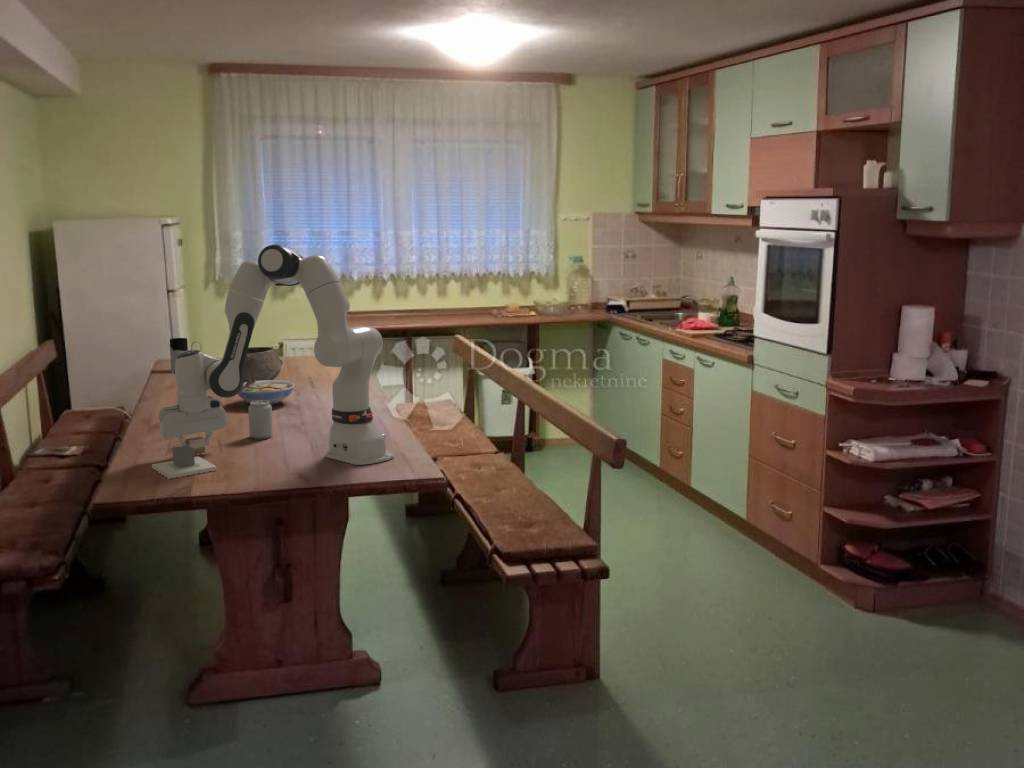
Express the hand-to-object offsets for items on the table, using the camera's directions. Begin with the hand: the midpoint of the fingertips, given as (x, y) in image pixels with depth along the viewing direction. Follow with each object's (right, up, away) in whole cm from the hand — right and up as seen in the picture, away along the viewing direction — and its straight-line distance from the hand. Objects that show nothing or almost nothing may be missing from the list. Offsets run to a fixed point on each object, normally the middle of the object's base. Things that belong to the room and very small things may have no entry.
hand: (195, 446), depth 295 cm
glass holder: (-50, +25, +140) cm, 151 cm away
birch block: (0, -2, 0) cm, 2 cm away
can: (+15, +2, +21) cm, 26 cm away
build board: (+2, -5, -17) cm, 18 cm away
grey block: (+2, -4, -17) cm, 18 cm away
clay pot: (-11, +19, +112) cm, 114 cm away
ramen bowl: (+4, +11, +71) cm, 72 cm away
